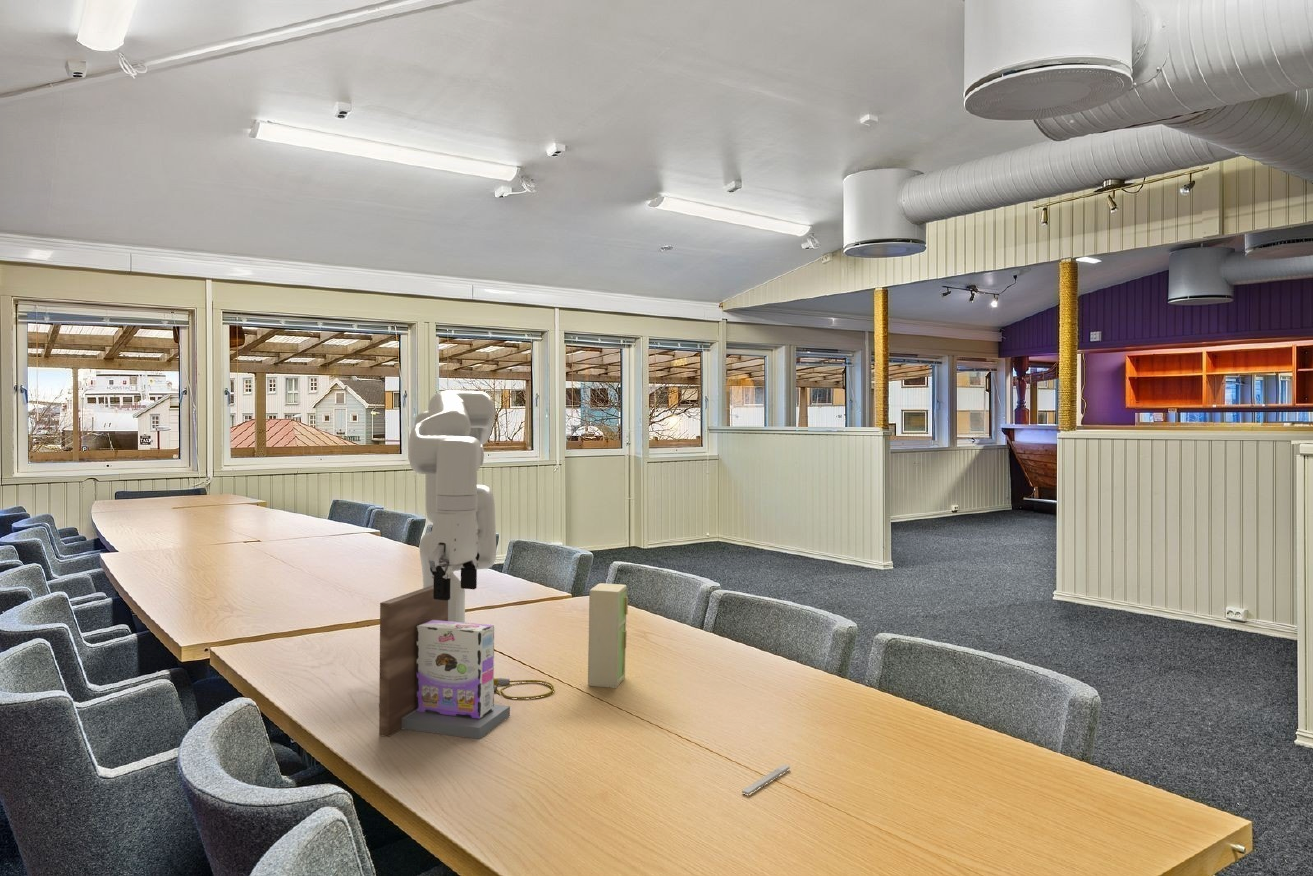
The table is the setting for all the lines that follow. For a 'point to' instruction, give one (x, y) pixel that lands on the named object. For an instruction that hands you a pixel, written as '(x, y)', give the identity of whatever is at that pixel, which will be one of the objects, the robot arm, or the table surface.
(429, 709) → the candy box
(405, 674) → the wall board
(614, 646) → the toy refrigerator
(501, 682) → the extension cord
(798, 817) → the table surface
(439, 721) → the cleat ledge
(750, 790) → the ruler
